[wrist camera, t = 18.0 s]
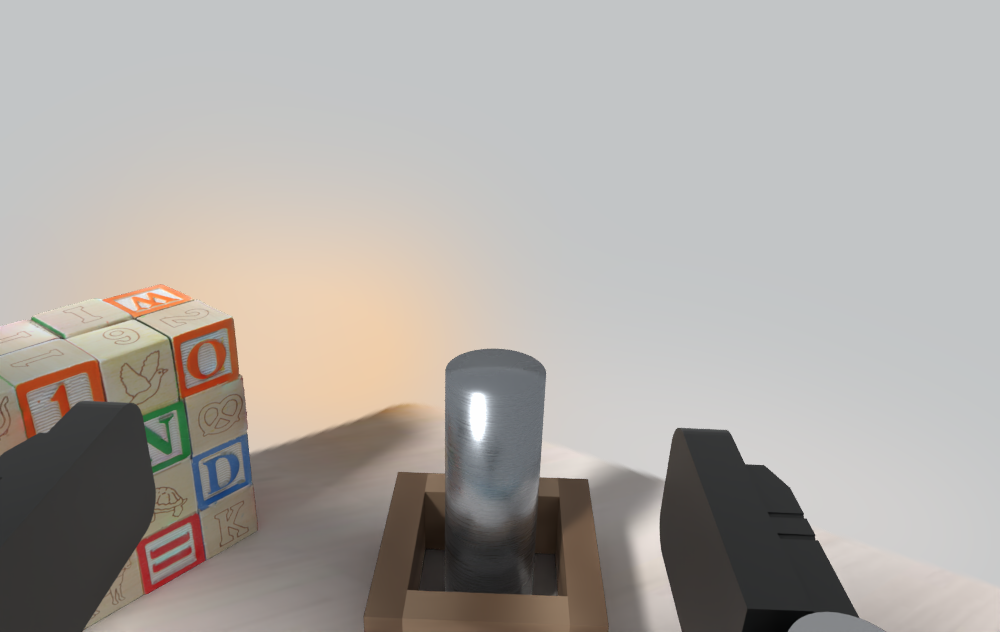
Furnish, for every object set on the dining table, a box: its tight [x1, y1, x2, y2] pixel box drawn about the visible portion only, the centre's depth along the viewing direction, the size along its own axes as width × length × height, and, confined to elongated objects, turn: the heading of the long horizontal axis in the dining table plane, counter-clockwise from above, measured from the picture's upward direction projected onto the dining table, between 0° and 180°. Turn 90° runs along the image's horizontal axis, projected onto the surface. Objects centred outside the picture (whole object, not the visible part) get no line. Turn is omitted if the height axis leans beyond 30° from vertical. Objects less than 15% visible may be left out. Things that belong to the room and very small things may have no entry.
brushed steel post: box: [445, 349, 546, 595], centre depth 33 cm, size 4×4×12 cm
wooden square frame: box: [364, 472, 609, 632], centre depth 35 cm, size 10×10×4 cm
